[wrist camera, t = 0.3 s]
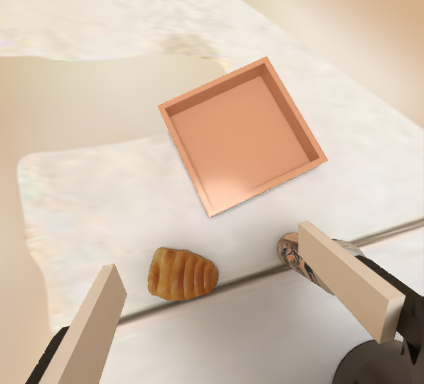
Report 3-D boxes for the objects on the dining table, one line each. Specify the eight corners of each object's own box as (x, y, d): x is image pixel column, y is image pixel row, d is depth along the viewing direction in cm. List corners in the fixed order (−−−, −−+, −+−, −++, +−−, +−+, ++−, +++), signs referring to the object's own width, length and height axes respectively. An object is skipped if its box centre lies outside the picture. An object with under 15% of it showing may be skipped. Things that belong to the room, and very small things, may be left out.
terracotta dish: (315, 167, 30) (328, 160, 26) (210, 217, 29) (209, 217, 26) (261, 73, 32) (266, 56, 29) (164, 118, 32) (157, 106, 28)
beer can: (270, 241, 28) (307, 257, 16) (299, 226, 28) (356, 231, 17) (287, 272, 28) (338, 312, 16) (316, 257, 28) (389, 284, 16)
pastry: (219, 251, 29) (219, 256, 25) (216, 300, 28) (215, 313, 24) (156, 245, 29) (147, 249, 25) (151, 293, 28) (140, 305, 24)
